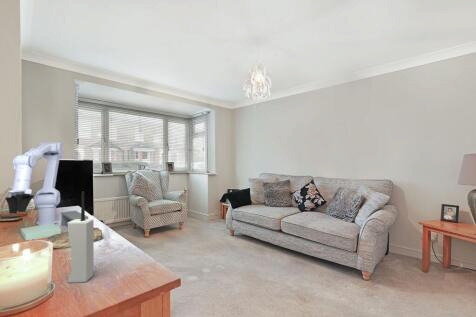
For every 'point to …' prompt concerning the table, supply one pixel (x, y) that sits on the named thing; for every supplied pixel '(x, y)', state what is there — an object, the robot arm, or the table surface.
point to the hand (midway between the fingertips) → (17, 212)
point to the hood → (70, 217)
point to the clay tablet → (63, 238)
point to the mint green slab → (40, 231)
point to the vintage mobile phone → (81, 248)
